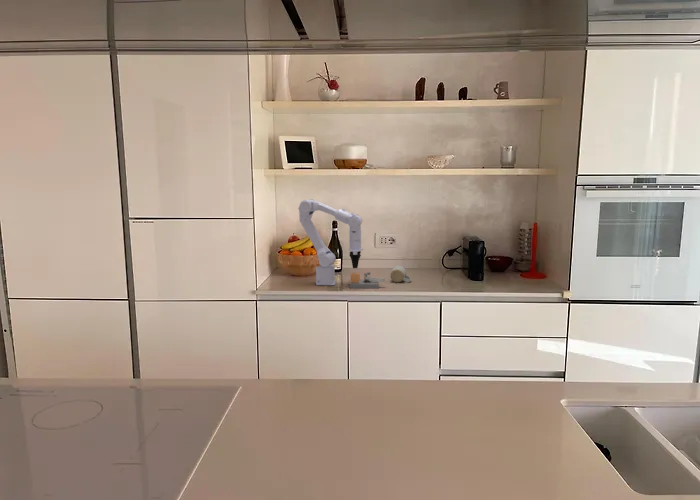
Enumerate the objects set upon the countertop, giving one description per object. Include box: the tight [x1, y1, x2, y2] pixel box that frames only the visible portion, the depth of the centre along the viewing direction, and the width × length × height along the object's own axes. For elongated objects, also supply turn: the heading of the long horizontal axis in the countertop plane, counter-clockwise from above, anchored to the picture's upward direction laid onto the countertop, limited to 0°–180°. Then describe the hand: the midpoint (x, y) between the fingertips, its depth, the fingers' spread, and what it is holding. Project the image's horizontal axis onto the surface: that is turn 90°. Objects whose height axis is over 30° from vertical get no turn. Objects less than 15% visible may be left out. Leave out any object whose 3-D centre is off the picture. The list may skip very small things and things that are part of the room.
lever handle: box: [363, 271, 386, 283], centre depth 254 cm, size 5×10×4 cm, turn 65°
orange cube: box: [350, 272, 361, 282], centre depth 256 cm, size 4×4×4 cm
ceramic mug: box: [390, 265, 412, 283], centre depth 265 cm, size 11×8×8 cm
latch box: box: [349, 279, 380, 289], centre depth 255 cm, size 14×11×2 cm
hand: (355, 266), depth 255 cm, fingers open, 6 cm apart
